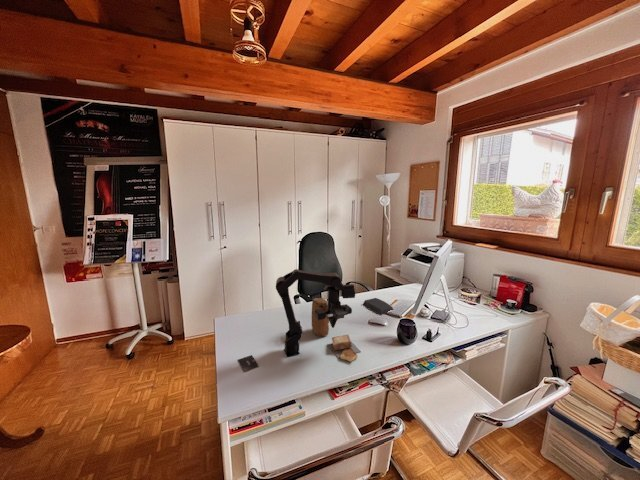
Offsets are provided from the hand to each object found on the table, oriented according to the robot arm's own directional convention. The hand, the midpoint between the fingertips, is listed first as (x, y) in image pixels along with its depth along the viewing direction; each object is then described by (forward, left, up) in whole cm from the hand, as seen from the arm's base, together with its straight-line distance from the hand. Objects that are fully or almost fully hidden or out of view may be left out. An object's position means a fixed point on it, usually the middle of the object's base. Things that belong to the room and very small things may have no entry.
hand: (332, 327), depth 132 cm
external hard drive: (+52, +31, -13) cm, 62 cm away
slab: (+1, +1, -10) cm, 10 cm away
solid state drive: (-41, +6, -13) cm, 44 cm away
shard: (+4, -7, -12) cm, 15 cm away
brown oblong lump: (+1, +17, -13) cm, 21 cm away
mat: (+6, -2, -12) cm, 14 cm away
